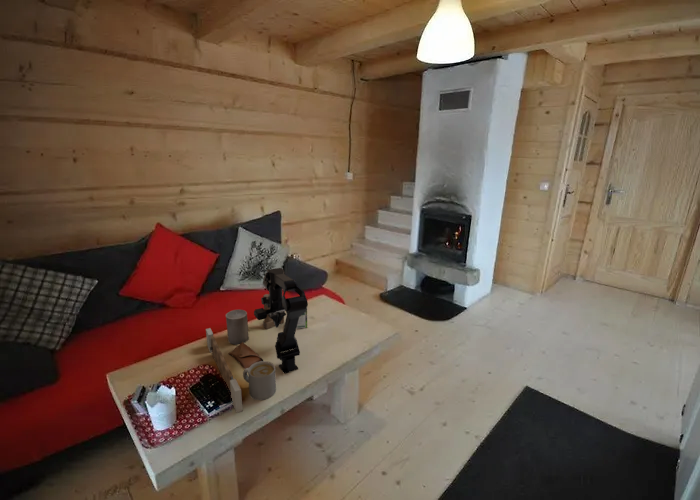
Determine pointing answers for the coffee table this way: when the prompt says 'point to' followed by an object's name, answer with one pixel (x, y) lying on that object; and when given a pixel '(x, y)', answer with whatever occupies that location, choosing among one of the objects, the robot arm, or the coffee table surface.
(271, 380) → the coffee mug
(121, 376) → the coffee table surface
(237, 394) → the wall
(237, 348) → the sunglasses case
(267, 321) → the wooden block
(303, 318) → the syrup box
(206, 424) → the coffee table surface
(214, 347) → the door
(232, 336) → the pillar candle
